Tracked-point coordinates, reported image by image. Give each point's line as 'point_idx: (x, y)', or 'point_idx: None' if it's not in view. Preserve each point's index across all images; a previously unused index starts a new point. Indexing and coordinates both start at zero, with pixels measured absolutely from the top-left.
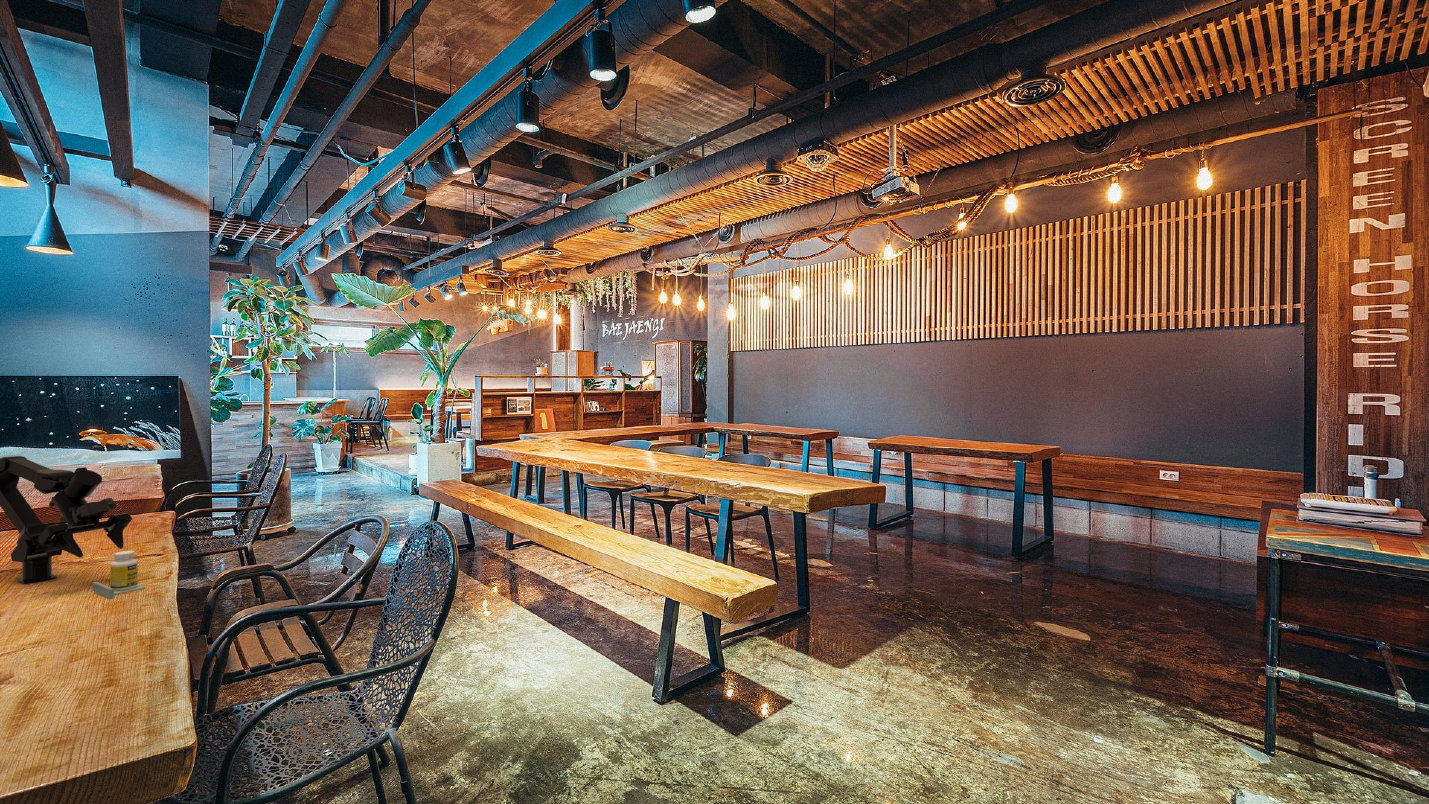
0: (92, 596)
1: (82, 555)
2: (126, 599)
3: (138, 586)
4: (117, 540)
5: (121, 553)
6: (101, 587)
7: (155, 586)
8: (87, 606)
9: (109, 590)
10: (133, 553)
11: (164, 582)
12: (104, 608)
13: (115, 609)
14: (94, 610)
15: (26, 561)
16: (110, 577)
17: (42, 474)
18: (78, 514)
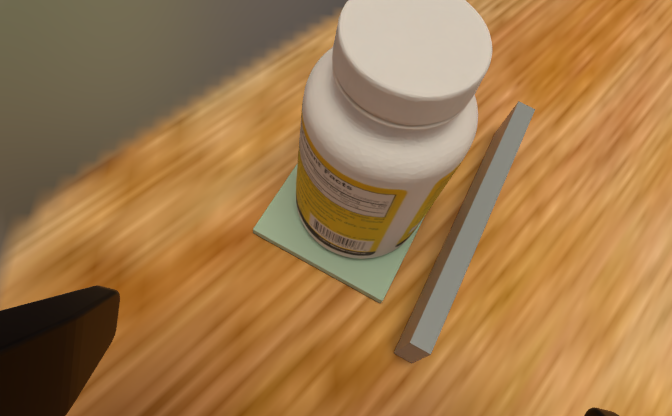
0: (488, 271)
1: (599, 409)
2: (491, 72)
3: None
4: (19, 393)
5: (452, 31)
6: (489, 212)
7: (285, 97)
8: (611, 151)
9: (533, 112)
10: None
11: (207, 106)
12: (605, 65)
13: (599, 21)
14: (635, 82)
15: None
16: (433, 202)
17: None
18: None
